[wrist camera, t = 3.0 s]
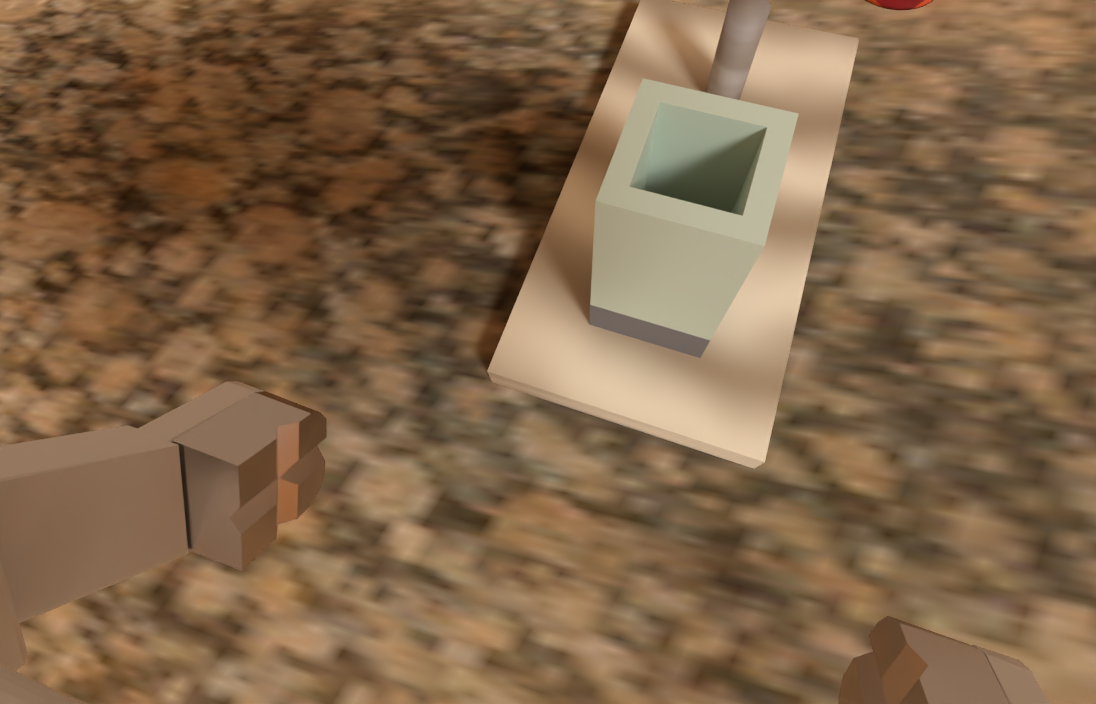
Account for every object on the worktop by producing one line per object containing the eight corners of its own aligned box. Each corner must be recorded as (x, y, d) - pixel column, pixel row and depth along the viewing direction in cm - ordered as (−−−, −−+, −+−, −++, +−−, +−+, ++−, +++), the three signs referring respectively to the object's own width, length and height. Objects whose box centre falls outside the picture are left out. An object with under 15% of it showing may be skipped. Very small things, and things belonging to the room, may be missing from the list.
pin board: (640, 18, 34) (653, -102, 28) (846, 61, 32) (909, -58, 26) (491, 381, 26) (466, 324, 20) (753, 468, 24) (812, 433, 18)
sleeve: (622, 232, 27) (642, 78, 18) (727, 261, 26) (798, 113, 18) (589, 324, 25) (595, 201, 17) (700, 358, 24) (764, 246, 16)
